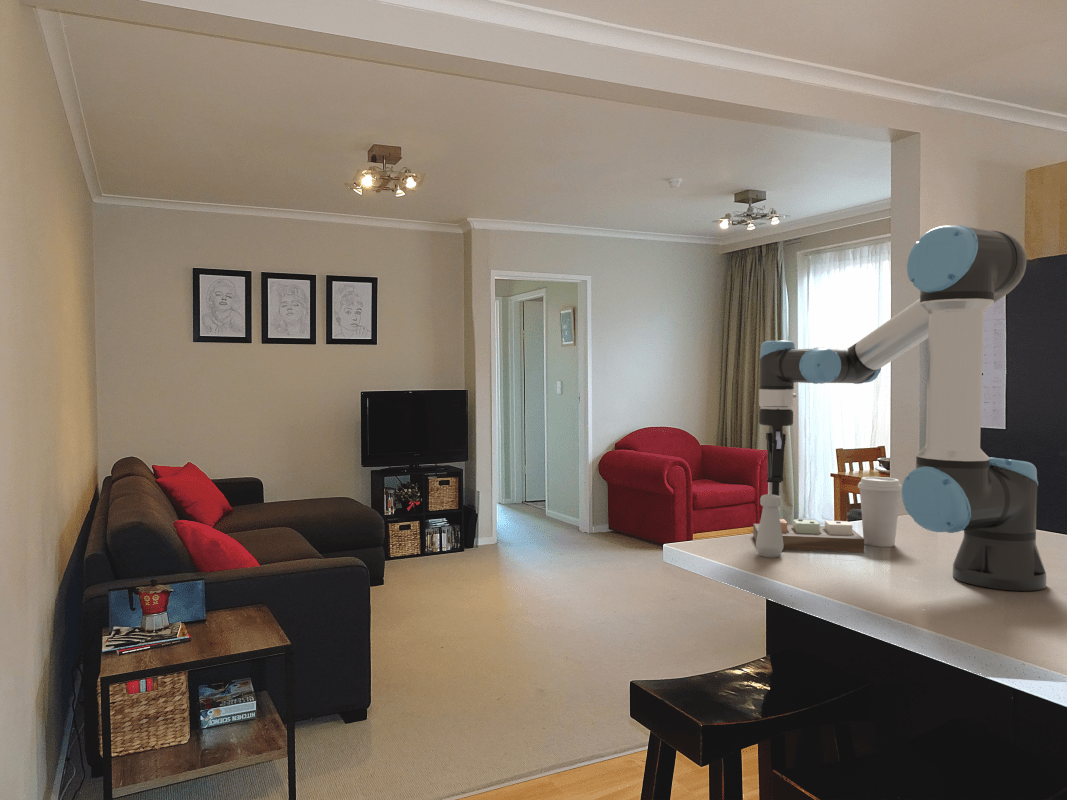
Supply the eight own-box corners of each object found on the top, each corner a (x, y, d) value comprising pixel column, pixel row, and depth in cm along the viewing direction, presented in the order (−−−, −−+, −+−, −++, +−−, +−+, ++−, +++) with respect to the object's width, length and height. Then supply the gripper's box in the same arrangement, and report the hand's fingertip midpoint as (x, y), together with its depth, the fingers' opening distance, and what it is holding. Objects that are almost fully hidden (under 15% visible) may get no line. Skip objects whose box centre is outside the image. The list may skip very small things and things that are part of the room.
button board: (864, 552, 171) (864, 538, 171) (759, 548, 175) (759, 534, 175) (849, 539, 185) (849, 527, 185) (753, 536, 189) (753, 523, 189)
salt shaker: (752, 556, 167) (753, 495, 166) (758, 551, 172) (759, 492, 171) (780, 559, 164) (781, 497, 163) (786, 554, 169) (786, 494, 169)
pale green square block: (819, 534, 177) (819, 523, 177) (796, 533, 178) (796, 522, 178) (815, 530, 182) (815, 519, 182) (793, 529, 183) (793, 518, 183)
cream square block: (852, 535, 176) (852, 524, 176) (828, 535, 177) (829, 523, 176) (847, 531, 181) (847, 520, 181) (824, 530, 181) (824, 519, 181)
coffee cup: (909, 548, 175) (910, 481, 175) (866, 548, 176) (867, 481, 175) (890, 539, 185) (892, 476, 185) (850, 539, 185) (851, 476, 185)
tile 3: (787, 533, 178) (787, 522, 178) (764, 532, 179) (764, 521, 179) (784, 529, 183) (784, 518, 183) (761, 528, 184) (762, 517, 184)
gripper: (797, 409, 173) (795, 515, 174) (789, 407, 186) (787, 506, 187) (762, 408, 175) (760, 514, 175) (756, 406, 187) (754, 504, 188)
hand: (774, 510), depth 181 cm, fingers closed
